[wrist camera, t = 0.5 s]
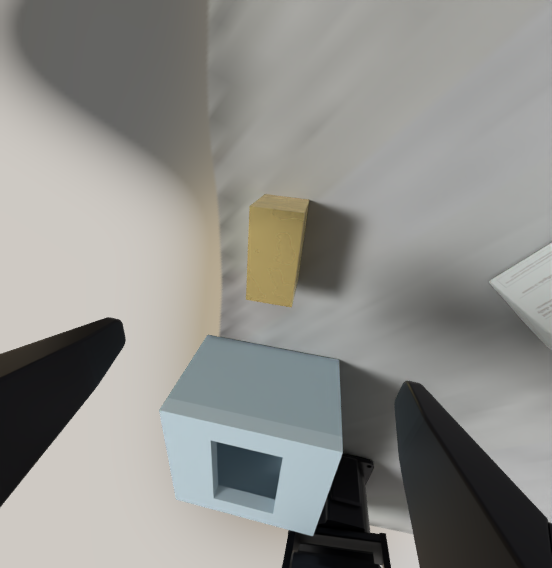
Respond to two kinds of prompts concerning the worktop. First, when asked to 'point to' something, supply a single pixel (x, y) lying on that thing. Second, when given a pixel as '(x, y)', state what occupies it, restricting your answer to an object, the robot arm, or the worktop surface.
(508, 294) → the supplement box
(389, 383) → the worktop surface
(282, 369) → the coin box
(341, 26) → the worktop surface
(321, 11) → the worktop surface
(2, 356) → the robot arm
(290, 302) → the tall tan wooden block
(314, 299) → the worktop surface
